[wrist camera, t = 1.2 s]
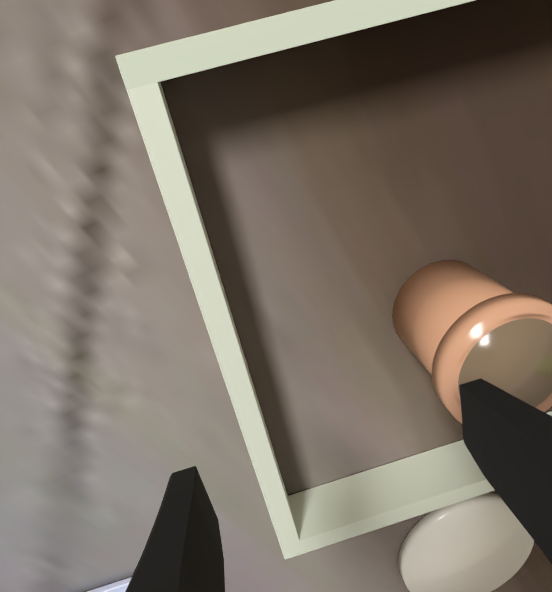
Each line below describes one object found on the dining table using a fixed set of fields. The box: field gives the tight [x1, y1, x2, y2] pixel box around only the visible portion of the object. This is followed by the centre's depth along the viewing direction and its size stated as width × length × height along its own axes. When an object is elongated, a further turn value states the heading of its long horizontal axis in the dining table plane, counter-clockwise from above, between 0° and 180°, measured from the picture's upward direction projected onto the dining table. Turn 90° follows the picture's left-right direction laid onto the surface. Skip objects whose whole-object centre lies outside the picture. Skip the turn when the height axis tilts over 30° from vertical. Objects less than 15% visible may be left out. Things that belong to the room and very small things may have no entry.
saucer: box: [398, 493, 534, 592], centre depth 32 cm, size 9×9×1 cm
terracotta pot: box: [392, 260, 552, 423], centre depth 22 cm, size 6×6×6 cm
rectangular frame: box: [115, 0, 552, 559], centre depth 23 cm, size 24×24×3 cm
